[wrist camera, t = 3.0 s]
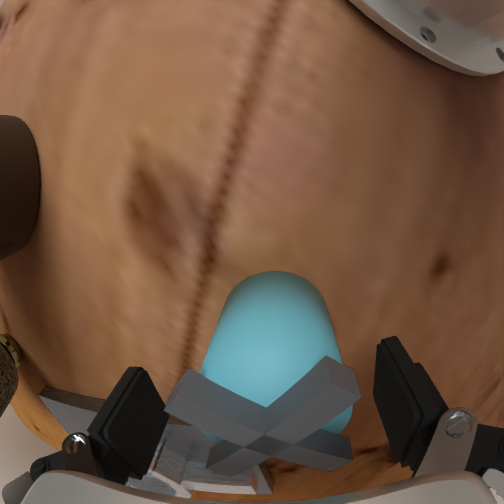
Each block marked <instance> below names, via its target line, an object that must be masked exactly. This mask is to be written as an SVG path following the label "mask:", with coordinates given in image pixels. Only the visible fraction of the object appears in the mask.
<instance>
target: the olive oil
mask: <svg viewBox="0 0 504 504" xmlns="http://www.w3.org/2000/svg"><path fill="white" fill-rule="evenodd" d="M38 203H39V165H38V157H37V152H36V147H35V143H34V140H33V137H32V135H31V132H30V130H29V128H28V127H27V125H26V124H25V123H24V122H23V121H22V120H21V119H20V118H18V117H15V116H8V115H0V260H2V259H3V258H5V257H7V256H9V255H11V254H12V253H14V252H16V251H18V250H19V249H21V248H22V247H23V246H24V245H25V244H26V243H27V241H28V239H29V238H30V236H31V233H32V231H33V228H34V224H35V221H36V216H37V211H38Z"/></svg>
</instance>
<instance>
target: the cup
mask: <svg viewBox="0 0 504 504" xmlns="http://www.w3.org/2000/svg"><path fill="white" fill-rule="evenodd" d="M22 362H23V356H22V353H21V351H20V349H19V347H18V345H17V344H16V343H15V341H14V340H13V339H12V338H11V337H10V336H9V335H7V334H0V417H1V416H2V414H3V412H4V411H5V409H6V407H7V406H8V404H9V403H10V401H11V399H12V398H13V396H14V394H15V392H16V389H17V386H18V373H17V369H16V368H19V367H21V365H22Z"/></svg>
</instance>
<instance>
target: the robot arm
mask: <svg viewBox="0 0 504 504" xmlns="http://www.w3.org/2000/svg"><path fill="white" fill-rule="evenodd" d="M349 1H350V2H351V3H352V4H354V5H355V6H356V7H357V8H358V9H359V10H361V11H362V12H363V13H364V14H365V15H366V16H367V17H368V18H370V19H371V20H372V21H374V22H375V23H376V24H378V25H379V26H380V27H382V28H383V29H384V30H385V31H387V32H388V33H389V34H391V35H392V36H394V37H395V38H397V39H398V40H400V41H401V42H403V43H404V44H406V45H407V46H409V47H410V48H411V49H413V50H415V51H417V52H418V53H420V54H422V55H424V56H425V57H427V58H429V59H430V60H432V61H434V62H436V63H438V64H440V65H443V66H445V67H447V68H449V69H451V70H453V71H457V72H460V73H463V74H467V75H470V76H482V77H484V76H488V75H493V74H497V73H500V72H502V71H504V0H349ZM373 397H374V400H375V403H376V406H377V409H378V411H379V414H380V417H381V420H382V423H383V426H384V429H385V432H386V435H387V438H388V441H389V444H390V447H391V450H392V453H393V456H394V459H395V462H396V463H398V462H400V463H401V466H402V468H403V467H406V466H409V465H410V468H411V470H412V471H414V472H413V474H412V476H411V478H409V479H405V480H401V481H398V482H394V483H390V484H386V485H382V486H379V487H375V488H371V489H367V490H362V491H358V492H353V493H348V494H343V495H337V496H331V497H325V498H318V499H311V500H302V501H290V502H273V503H233V502H217V501H206V500H197V499H189V498H182V497H176V496H170V495H164V494H159V493H154V492H150V491H146V490H141V489H137V488H133V487H131V486H130V484H129V481H128V478H129V476H130V477H131V478H133V479H137V480H141V481H142V478H143V476H144V475H146V474H147V472H148V470H149V467H150V465H151V462H152V460H153V457H154V455H155V452H156V450H157V447H158V445H159V442H160V440H161V437H162V435H163V432H164V430H165V427H166V425H167V422H168V420H169V413H167V412H166V411H164V409H165V407H166V406H165V404H164V402H163V401H162V399H161V397H160V395H159V393H158V392H157V390H156V388H155V386H154V384H153V382H152V380H151V378H150V376H149V374H148V373H147V371H146V370H144V369H143V368H142V367H129V368H128V369H127V370H126V371H125V373H124V374H123V376H122V377H121V379H120V380H119V382H118V383H117V385H116V386H115V388H114V389H113V391H112V392H111V394H110V395H109V397H108V398H107V400H106V401H105V403H104V404H103V406H102V407H101V409H100V410H99V412H98V413H97V415H96V416H95V418H94V419H93V421H92V423H91V424H90V426H89V427H88V429H87V432H88V433H89V435H88V436H87V435H86V434H84V433H82V432H76V433H73V434H70V435H69V436H68V437H66V439H65V440H64V441H63V444H62V451H59V452H56V453H54V454H51V455H48V456H45V457H42V458H39V459H37V460H36V461H35V462H34V463H33V464H32V466H31V468H30V473H29V472H28V471H27V472H26V473H24V474H23V475H21V476H20V477H18V478H16V479H15V480H14V481H12V482H10V483H9V484H7V485H6V486H5V487H4V488H3V490H2V496H3V499H4V502H5V504H497V502H496V500H495V498H494V496H493V494H492V492H491V490H490V488H493V489H494V490H496V491H497V493H496V494H497V495H499V496H501V497H502V498H503V499H504V429H503V428H498V427H492V426H487V425H482V424H477V423H478V421H477V417H476V415H475V414H474V413H473V412H472V411H471V410H469V409H467V408H464V407H456V408H452V409H450V410H449V408H448V407H447V405H446V403H445V402H444V400H443V398H442V397H441V395H440V393H439V392H438V390H437V388H436V387H435V385H434V383H433V382H432V380H431V379H430V377H429V375H428V374H427V372H426V371H425V369H424V367H423V366H422V365H421V364H420V363H415V364H414V363H413V361H412V359H411V358H410V356H409V355H408V353H407V351H406V350H405V348H404V347H403V345H402V344H401V342H400V341H399V339H398V338H397V336H392V337H388V338H384V339H382V340H381V343H380V344H377V351H376V366H375V377H374V387H373Z"/></svg>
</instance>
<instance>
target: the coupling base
mask: <svg viewBox="0 0 504 504" xmlns="http://www.w3.org/2000/svg"><path fill="white" fill-rule="evenodd" d="M38 396H39V397H40V399H41V400H42V401H43V403H44V404H45V405H46V407H47V408H48V409H49V410H50V412H51V413H52V414H53V415H54V417H55V418H56V419H57V420H58V422H59V423H60V424H61V425H62V426H63V427H64V429H65V430H66V431H67V432H68V433H69V434H73V433H76V432H82V433H84V434H86V435H87V436H88V435H89V433H88V432H87V429H88V427H89V426H90V424H91V423H92V421H93V419H94V418H95V416H96V415H97V413H98V412H99V410H100V409H101V407H102V406H103V404H104V403H105V401H106V400H103V399H97V398H92V397H87V396H83V395H78V394H74V393H70V392H66V391H62V390H58V389H54V388H50V387H47V386H45V387H44V388H43V390H42V391H41V392H40V393H39V394H38ZM215 444H217V442H215V441H213V440H212V439H210V438H209V437H208V436H206V435H205V434H204V433H203V432H202V431H201V430H200V429H199V428H197V427H195V426H193V425H191V424H189V423H187V422H185V421H183V420H181V419H179V418H177V417H175V416H173V415H171V414H169V420H168V422H167V425H166V427H165V430H164V432H163V435H162V437H161V440H160V442H159V445H158V447H157V450H156V452H155V455H154V457H153V460H152V462H151V465H150V467H149V470H148V472H147V474H146V475H144V476H143V478H142V481H141V480H137V479H133V478H131V477H130V476H129V478H128V481H129V484H130V486H131V487H133V488H137V489H141V490H146V491H150V492H154V493H159V494H164V495H170V496H176V497H182V498H190V497H191V495H192V492H193V490H199V491H207V492H218V493H232V494H273V480H272V478H271V476H270V473H269V471H268V469H267V466H266V464H265V462H262V463H260V464H258V465H256V466H254V467H252V468H250V469H248V470H245V471H243V472H241V473H239V474H237V475H234V476H232V477H228V476H225V475H222V474H219V473H216V472H213V471H210V470H208V469H205V468H206V464H207V460H208V456H209V452H210V448H211V447H212V446H214V445H215Z"/></svg>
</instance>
